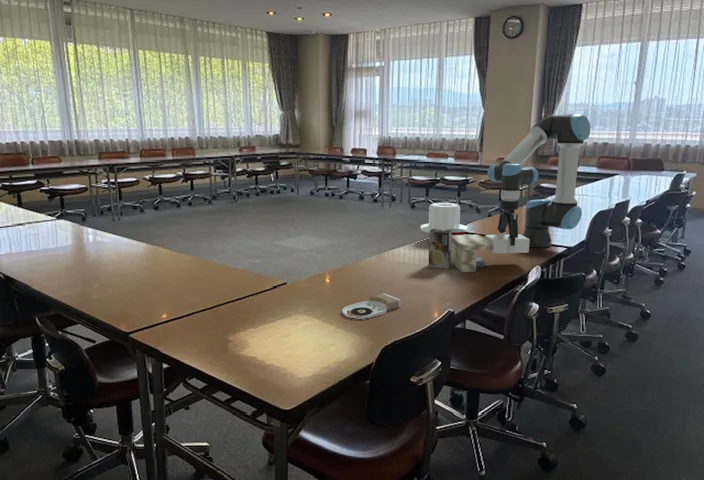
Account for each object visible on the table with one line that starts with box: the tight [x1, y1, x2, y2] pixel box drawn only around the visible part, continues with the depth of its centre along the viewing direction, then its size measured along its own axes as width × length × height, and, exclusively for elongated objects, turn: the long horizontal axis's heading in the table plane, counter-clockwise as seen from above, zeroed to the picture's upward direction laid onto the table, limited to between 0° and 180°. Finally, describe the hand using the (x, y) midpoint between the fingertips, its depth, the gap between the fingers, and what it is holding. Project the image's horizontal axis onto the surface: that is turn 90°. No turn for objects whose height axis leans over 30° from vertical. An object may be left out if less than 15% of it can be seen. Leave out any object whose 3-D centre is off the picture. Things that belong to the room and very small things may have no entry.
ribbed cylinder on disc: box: [419, 202, 469, 234], centre depth 271 cm, size 25×25×19 cm
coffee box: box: [428, 229, 452, 270], centre depth 221 cm, size 9×6×16 cm
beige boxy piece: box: [451, 234, 493, 273], centre depth 223 cm, size 13×20×12 cm, turn 5°
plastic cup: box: [443, 229, 466, 235], centre depth 243 cm, size 11×11×12 cm
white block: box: [484, 233, 530, 254], centre depth 223 cm, size 16×10×6 cm, turn 95°
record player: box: [342, 292, 402, 320], centre depth 172 cm, size 12×3×20 cm
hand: (506, 249), depth 224 cm, fingers closed on white block, 10 cm apart
